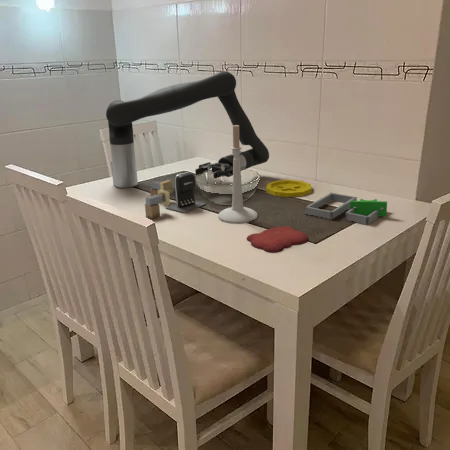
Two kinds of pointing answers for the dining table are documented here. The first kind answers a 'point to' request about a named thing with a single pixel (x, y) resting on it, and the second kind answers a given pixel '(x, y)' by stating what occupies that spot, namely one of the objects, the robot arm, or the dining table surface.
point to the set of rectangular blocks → (158, 198)
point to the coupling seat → (185, 209)
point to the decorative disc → (288, 188)
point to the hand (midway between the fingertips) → (205, 173)
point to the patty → (277, 239)
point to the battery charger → (185, 189)
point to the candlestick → (237, 190)
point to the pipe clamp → (369, 207)
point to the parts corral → (340, 209)
